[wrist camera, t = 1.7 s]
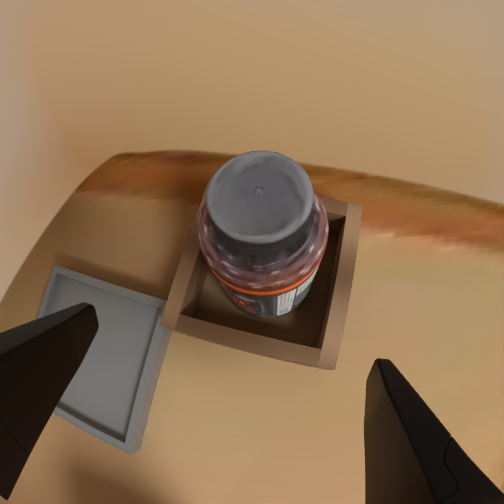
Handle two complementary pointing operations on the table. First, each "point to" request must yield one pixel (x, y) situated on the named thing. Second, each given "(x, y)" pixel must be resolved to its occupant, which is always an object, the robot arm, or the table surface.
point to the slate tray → (111, 357)
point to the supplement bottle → (263, 232)
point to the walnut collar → (324, 356)
